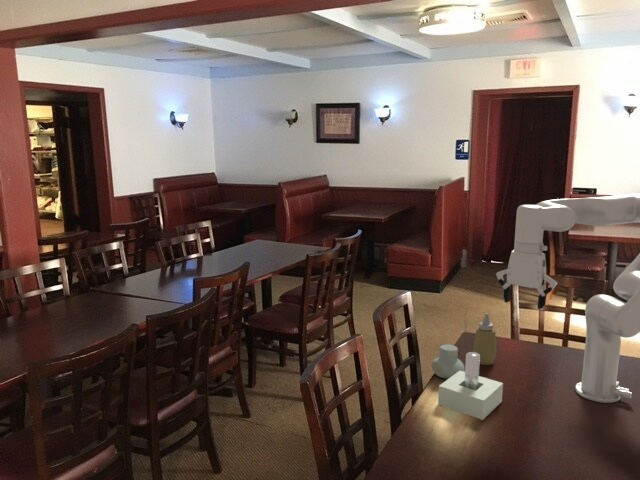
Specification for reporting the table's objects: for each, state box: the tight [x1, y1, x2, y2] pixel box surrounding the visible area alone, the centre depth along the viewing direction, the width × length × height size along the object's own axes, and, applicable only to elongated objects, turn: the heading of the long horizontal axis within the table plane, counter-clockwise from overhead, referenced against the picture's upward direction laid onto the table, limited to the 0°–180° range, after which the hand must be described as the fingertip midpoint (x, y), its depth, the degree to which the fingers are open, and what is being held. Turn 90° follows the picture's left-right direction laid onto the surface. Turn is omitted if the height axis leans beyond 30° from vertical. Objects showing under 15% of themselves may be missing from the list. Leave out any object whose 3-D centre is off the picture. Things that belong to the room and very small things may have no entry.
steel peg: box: [464, 351, 481, 391], centre depth 161 cm, size 4×4×14 cm
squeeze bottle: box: [472, 312, 497, 366], centre depth 190 cm, size 8×8×18 cm
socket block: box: [437, 371, 504, 421], centre depth 162 cm, size 14×14×6 cm
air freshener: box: [431, 343, 465, 380], centre depth 180 cm, size 11×8×10 cm
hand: (523, 304), depth 159 cm, fingers open, 9 cm apart
